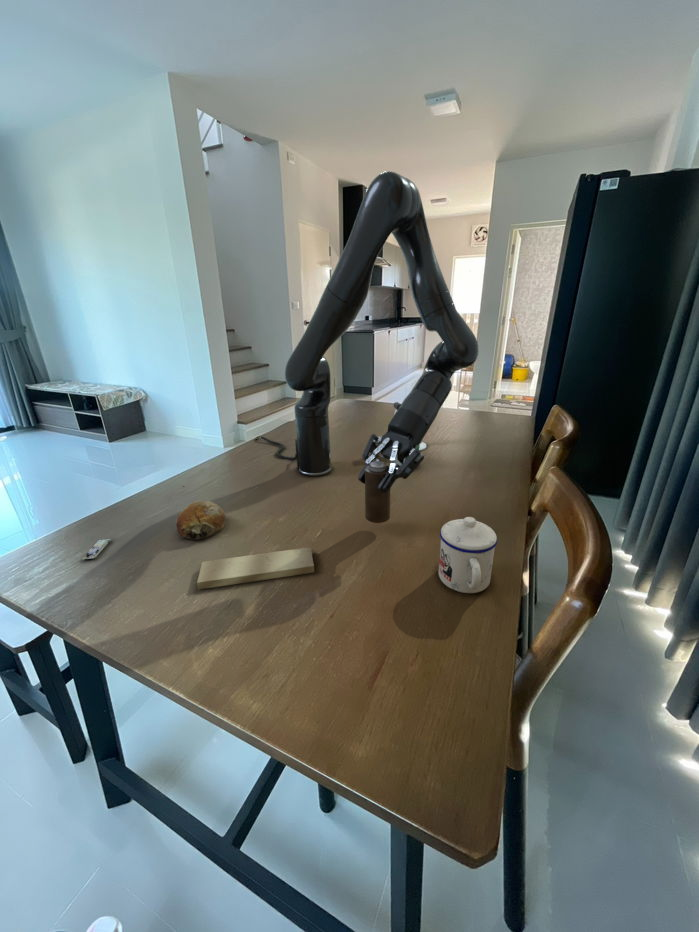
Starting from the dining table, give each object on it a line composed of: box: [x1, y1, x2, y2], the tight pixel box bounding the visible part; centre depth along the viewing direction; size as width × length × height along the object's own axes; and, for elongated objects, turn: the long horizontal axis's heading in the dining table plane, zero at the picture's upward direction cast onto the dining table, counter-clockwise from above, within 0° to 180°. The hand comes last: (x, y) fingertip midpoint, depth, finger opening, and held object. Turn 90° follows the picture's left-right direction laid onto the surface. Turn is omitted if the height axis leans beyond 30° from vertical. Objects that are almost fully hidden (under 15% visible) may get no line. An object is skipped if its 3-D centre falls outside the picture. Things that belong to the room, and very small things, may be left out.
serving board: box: [196, 546, 315, 590], centre depth 70 cm, size 20×6×2 cm, turn 101°
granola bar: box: [82, 538, 112, 560], centre depth 77 cm, size 7×2×1 cm, turn 5°
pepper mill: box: [364, 460, 391, 524], centre depth 78 cm, size 5×5×12 cm
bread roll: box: [176, 499, 226, 541], centre depth 83 cm, size 10×10×8 cm
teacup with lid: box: [438, 516, 498, 594], centre depth 63 cm, size 12×9×12 cm
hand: (371, 486), depth 77 cm, fingers closed on pepper mill, 5 cm apart
